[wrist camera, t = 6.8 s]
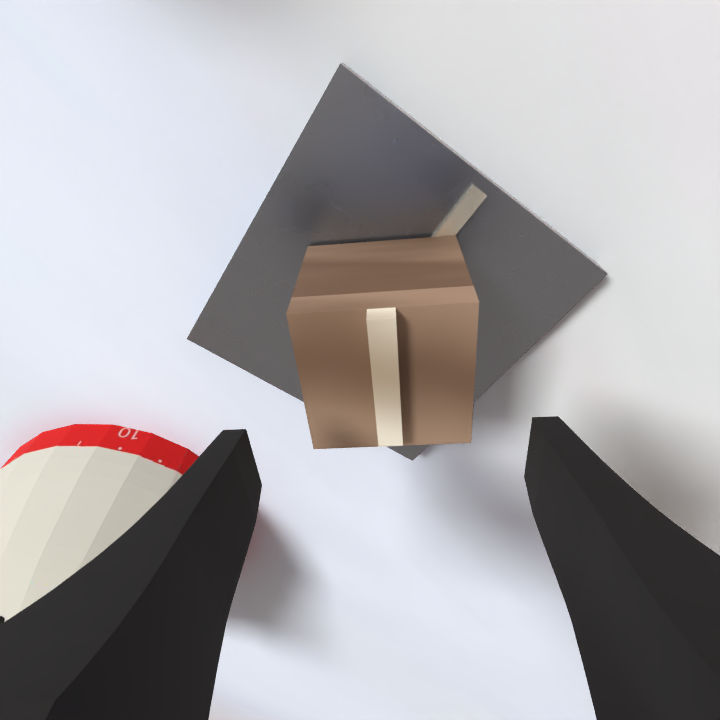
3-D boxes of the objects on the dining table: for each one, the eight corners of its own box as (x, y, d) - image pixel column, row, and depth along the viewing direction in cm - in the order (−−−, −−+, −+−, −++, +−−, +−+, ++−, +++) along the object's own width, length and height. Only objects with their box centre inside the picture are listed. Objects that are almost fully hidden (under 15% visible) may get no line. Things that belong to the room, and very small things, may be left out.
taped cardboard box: (452, 358, 20) (474, 455, 16) (326, 364, 21) (311, 461, 16) (455, 235, 17) (483, 313, 13) (307, 246, 18) (282, 325, 13)
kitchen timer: (177, 398, 24) (-56, 798, 11) (284, 564, 31) (216, 925, 18) (-47, 453, 26) (-442, 826, 14) (98, 594, 33) (-74, 927, 21)
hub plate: (597, 264, 19) (644, 310, 16) (411, 446, 25) (416, 509, 21) (342, 62, 16) (332, 66, 12) (194, 327, 21) (159, 379, 18)
